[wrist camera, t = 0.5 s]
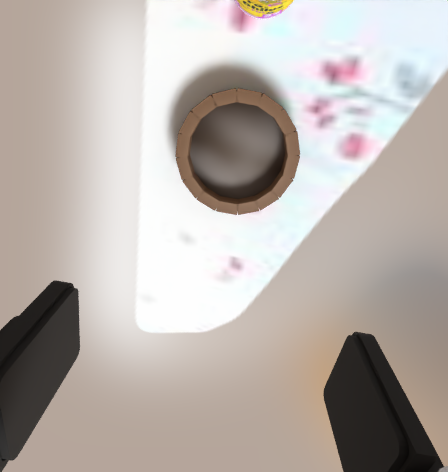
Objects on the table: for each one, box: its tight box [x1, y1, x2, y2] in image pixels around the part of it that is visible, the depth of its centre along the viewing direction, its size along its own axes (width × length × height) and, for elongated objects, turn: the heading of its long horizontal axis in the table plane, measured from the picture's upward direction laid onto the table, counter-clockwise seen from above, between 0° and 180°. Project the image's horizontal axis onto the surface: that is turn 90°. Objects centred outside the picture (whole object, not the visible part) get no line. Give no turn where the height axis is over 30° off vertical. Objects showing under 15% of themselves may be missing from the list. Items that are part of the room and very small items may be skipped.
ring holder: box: [176, 88, 300, 215], centre depth 35 cm, size 13×13×3 cm
